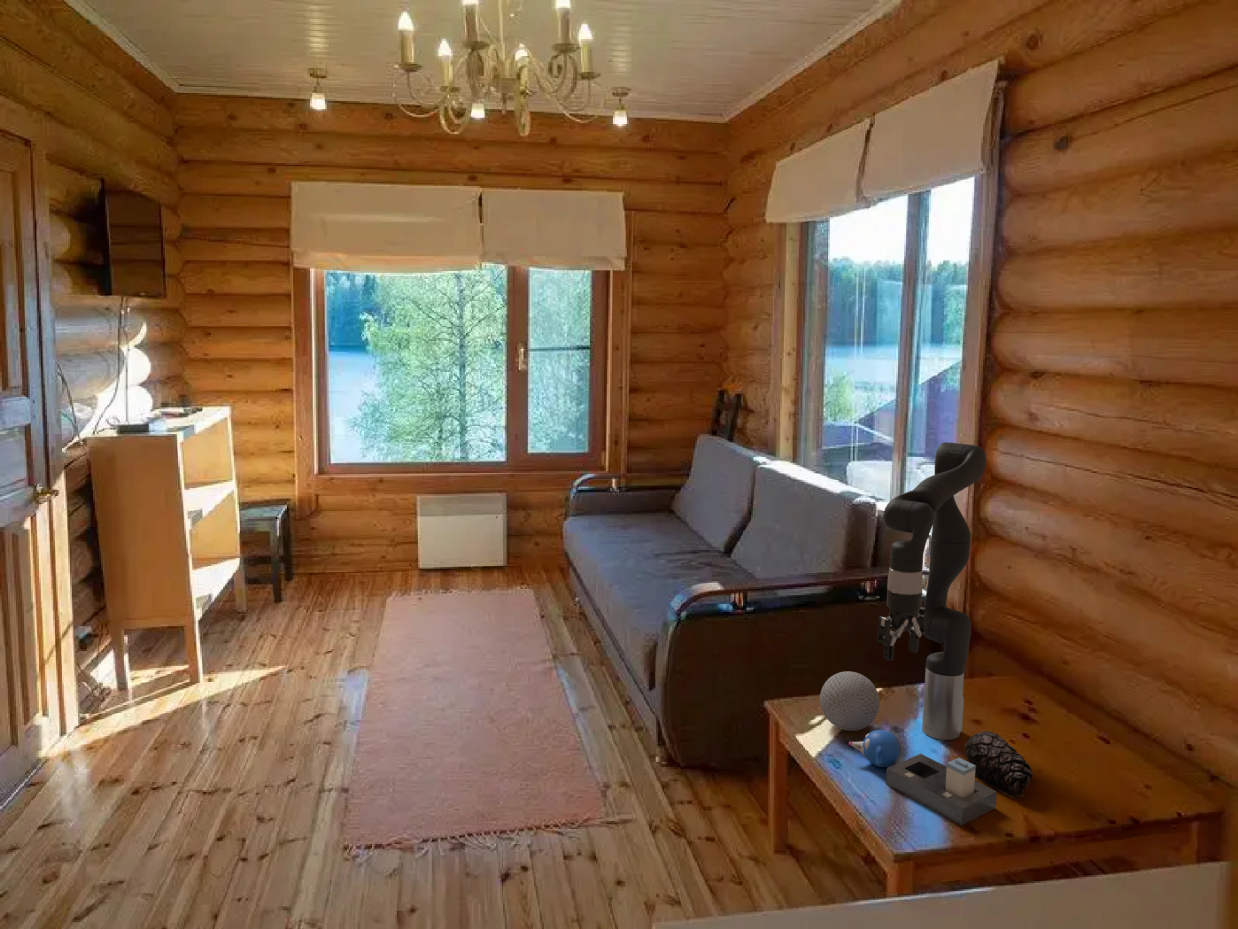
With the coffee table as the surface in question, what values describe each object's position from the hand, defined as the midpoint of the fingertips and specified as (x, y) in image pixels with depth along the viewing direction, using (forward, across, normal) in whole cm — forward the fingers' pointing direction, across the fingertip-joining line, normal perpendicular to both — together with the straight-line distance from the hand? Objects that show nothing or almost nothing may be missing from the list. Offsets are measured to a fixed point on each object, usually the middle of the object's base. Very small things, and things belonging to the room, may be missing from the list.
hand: (900, 655), depth 203 cm
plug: (+30, -2, +16) cm, 34 cm away
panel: (+30, -2, +11) cm, 32 cm away
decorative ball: (+30, -10, -23) cm, 39 cm away
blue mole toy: (+30, -1, -7) cm, 31 cm away
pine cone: (+30, -20, +15) cm, 39 cm away
